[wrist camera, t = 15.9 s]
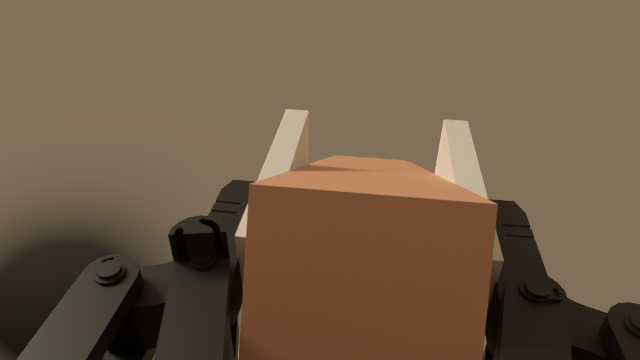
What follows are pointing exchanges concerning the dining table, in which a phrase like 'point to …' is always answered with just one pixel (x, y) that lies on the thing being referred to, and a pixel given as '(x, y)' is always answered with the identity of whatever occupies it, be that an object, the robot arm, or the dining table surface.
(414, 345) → the carton
